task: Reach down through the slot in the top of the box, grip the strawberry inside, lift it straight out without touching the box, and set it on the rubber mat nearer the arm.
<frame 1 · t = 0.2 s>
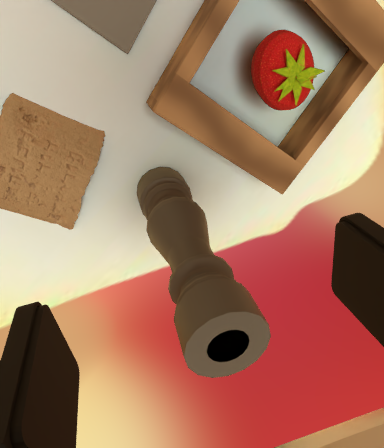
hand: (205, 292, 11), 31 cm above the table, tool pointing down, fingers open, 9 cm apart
strawberry: (259, 67, 38), resting in slotted box
slotted box: (260, 67, 38), on the table
candle holder: (161, 189, 42), on the table
clay tablet: (45, 165, 38), on the table
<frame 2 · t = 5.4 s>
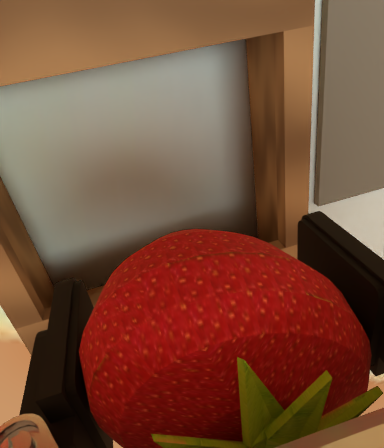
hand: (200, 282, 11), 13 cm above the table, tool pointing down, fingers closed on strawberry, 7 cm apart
strawberry: (184, 242, 13), point 10 cm above the table, touching gripper
slotted box: (135, 159, 22), on the table
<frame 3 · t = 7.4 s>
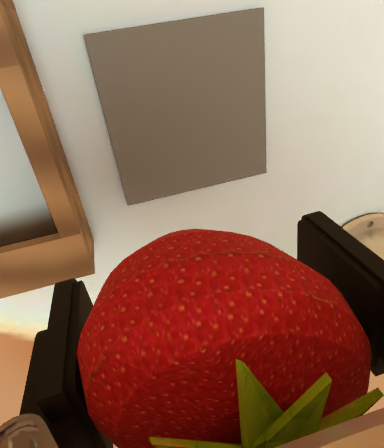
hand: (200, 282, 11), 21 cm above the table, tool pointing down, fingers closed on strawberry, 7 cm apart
mat: (188, 113, 30), on the table
strawberry: (183, 242, 13), point 19 cm above the table, touching gripper
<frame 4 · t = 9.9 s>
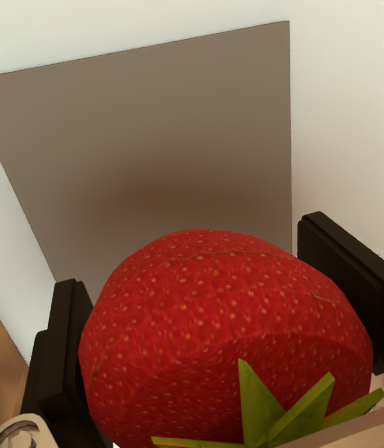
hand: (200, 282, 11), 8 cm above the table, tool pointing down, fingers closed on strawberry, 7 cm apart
mat: (166, 192, 18), on the table
strawberry: (184, 242, 13), point 6 cm above the table, touching gripper
when the fingers open (4 cm above the table, at t = 11.2 s): strawberry drops 1 cm, resting on mat.
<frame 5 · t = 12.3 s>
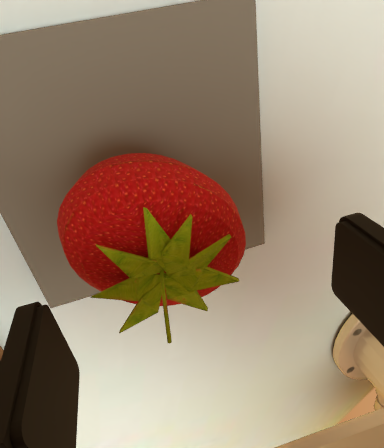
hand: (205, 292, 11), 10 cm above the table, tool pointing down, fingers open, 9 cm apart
mat: (136, 169, 18), on the table
strawberry: (137, 173, 18), resting on mat
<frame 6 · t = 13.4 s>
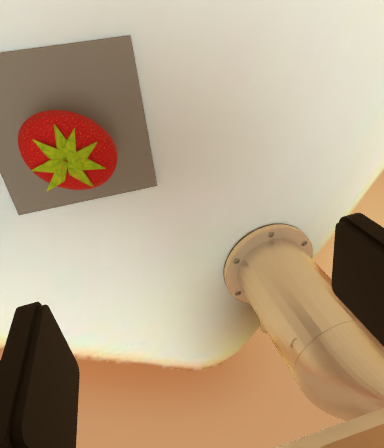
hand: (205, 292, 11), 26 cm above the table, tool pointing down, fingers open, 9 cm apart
mat: (70, 130, 32), on the table
strawberry: (70, 133, 31), resting on mat
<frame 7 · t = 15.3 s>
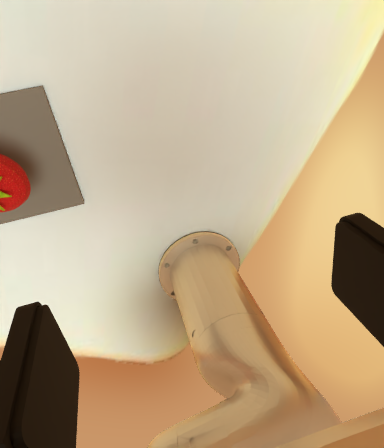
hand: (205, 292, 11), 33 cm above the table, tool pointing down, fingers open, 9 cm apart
mat: (3, 162, 39), on the table
strawberry: (2, 164, 38), resting on mat
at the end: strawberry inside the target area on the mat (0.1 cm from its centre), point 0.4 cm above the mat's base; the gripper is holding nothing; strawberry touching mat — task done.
